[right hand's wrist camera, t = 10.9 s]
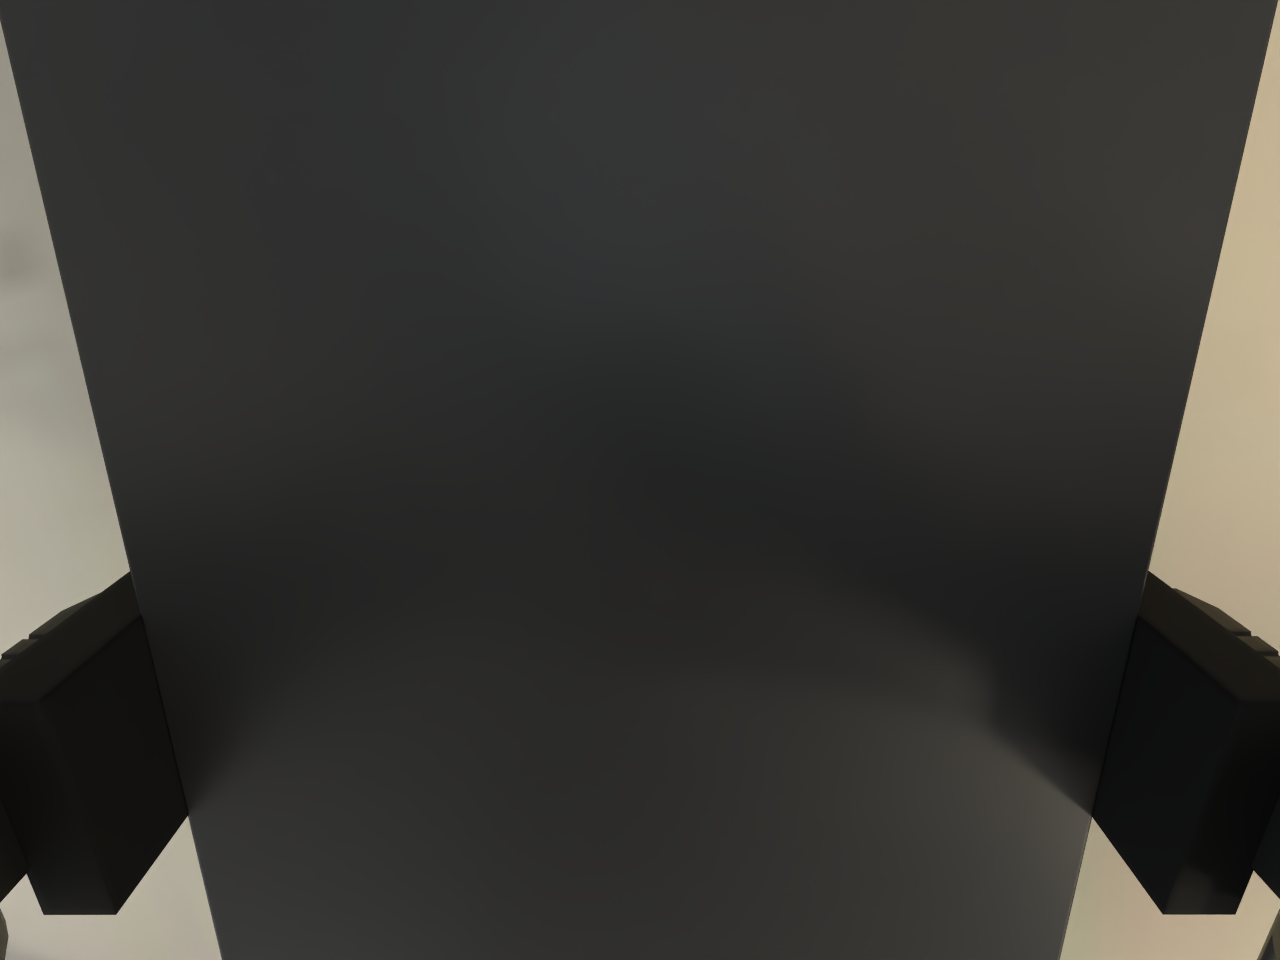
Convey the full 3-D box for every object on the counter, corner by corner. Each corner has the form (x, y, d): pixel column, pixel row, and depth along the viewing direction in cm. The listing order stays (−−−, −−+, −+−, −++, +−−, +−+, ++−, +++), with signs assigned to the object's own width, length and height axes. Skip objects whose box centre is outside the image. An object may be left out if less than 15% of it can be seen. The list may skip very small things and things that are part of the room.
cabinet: (312, -157, 12) (-191, -770, 5) (964, -160, 12) (1461, -783, 5) (408, 687, 17) (234, 1020, 10) (872, 686, 17) (1048, 1020, 10)
